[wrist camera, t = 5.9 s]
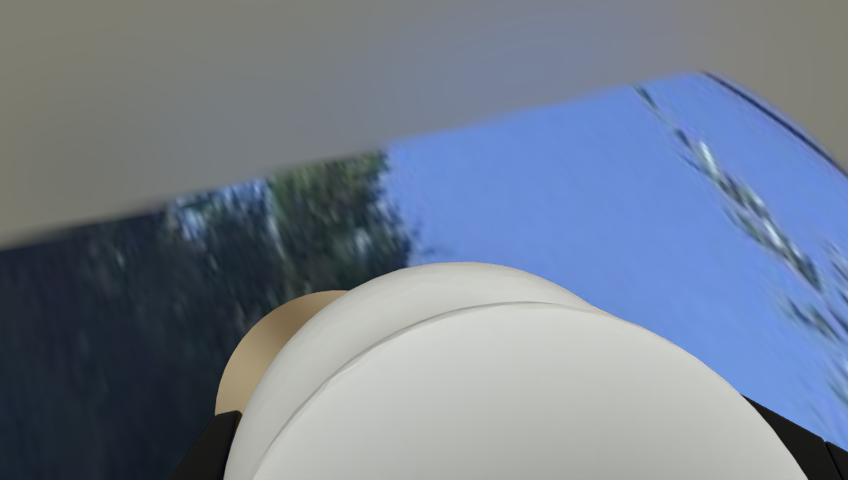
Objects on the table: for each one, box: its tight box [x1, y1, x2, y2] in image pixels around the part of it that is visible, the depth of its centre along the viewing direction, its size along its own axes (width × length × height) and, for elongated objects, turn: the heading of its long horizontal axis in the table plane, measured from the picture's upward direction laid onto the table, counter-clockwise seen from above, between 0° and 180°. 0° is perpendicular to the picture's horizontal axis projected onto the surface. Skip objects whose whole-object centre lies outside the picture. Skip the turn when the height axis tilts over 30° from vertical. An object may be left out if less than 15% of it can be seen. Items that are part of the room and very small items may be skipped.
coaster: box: [215, 291, 349, 415], centre depth 21 cm, size 10×10×1 cm
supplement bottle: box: [224, 262, 808, 480], centre depth 9 cm, size 7×7×13 cm
